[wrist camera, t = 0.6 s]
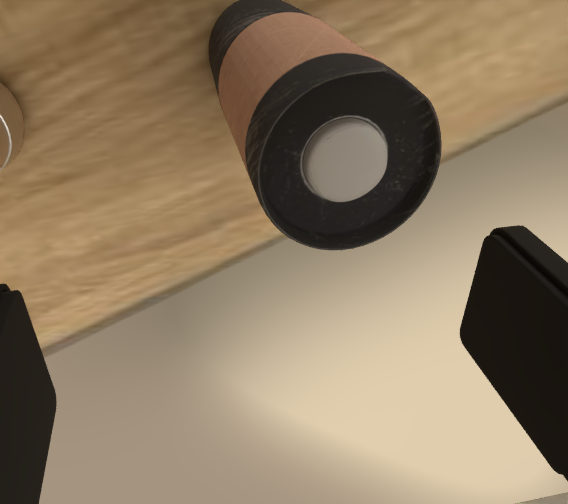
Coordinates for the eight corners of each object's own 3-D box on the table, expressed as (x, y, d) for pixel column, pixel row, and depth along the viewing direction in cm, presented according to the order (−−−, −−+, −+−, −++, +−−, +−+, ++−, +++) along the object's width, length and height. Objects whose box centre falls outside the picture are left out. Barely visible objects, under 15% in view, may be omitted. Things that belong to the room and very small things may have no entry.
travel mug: (221, 118, 38) (277, 275, 22) (189, 7, 33) (228, 101, 17) (320, 90, 38) (447, 223, 22) (301, -24, 34) (443, 40, 18)
